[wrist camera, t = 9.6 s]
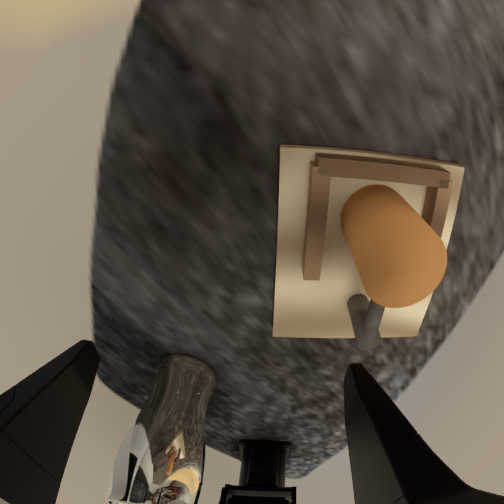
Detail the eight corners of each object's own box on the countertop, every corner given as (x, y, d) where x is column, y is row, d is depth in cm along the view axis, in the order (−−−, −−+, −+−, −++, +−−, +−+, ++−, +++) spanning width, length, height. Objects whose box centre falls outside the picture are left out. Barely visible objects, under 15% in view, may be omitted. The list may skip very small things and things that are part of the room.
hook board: (412, 328, 24) (431, 372, 19) (272, 327, 24) (270, 377, 20) (457, 163, 17) (499, 187, 12) (280, 144, 18) (280, 162, 13)
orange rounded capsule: (399, 250, 19) (433, 307, 14) (336, 248, 20) (354, 308, 14) (411, 187, 17) (456, 229, 12) (343, 182, 18) (370, 224, 12)
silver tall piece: (220, 399, 30) (196, 533, 17) (156, 387, 30) (115, 511, 17) (223, 357, 27) (191, 519, 14) (148, 343, 27) (88, 489, 14)
